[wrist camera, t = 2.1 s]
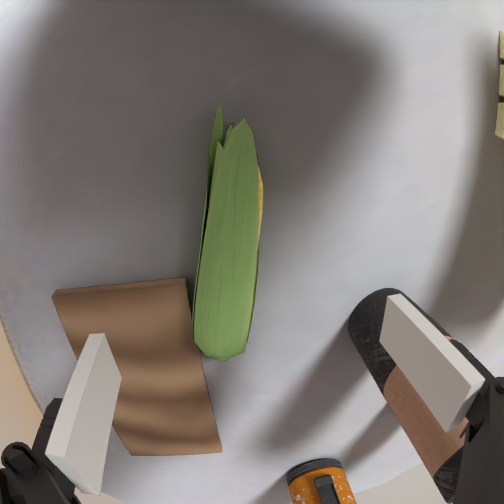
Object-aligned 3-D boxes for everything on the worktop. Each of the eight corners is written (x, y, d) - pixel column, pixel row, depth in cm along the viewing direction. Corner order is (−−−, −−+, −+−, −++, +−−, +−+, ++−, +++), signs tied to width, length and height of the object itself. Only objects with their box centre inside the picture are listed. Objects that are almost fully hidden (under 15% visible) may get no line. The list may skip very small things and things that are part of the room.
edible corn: (183, 368, 24) (239, 381, 23) (202, 94, 17) (279, 101, 17) (200, 334, 29) (249, 344, 28) (222, 104, 22) (283, 111, 22)
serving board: (56, 290, 24) (51, 296, 23) (185, 277, 25) (185, 284, 24) (132, 448, 34) (131, 455, 33) (221, 444, 35) (222, 452, 34)
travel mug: (355, 358, 32) (442, 512, 14) (336, 309, 29) (449, 493, 10) (413, 324, 31) (520, 454, 13) (403, 271, 28) (547, 412, 10)
